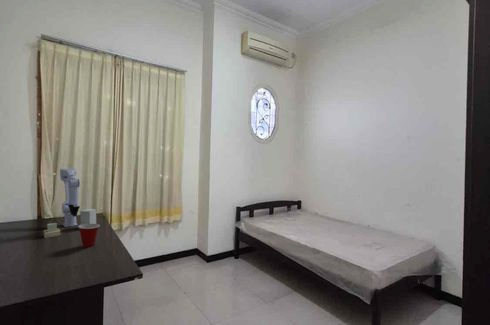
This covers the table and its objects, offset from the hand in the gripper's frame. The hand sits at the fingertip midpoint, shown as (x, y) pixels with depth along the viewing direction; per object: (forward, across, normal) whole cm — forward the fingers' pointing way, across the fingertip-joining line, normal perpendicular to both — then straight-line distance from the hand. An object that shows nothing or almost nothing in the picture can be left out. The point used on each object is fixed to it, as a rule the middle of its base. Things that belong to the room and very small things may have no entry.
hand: (73, 215), depth 179 cm
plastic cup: (+10, +44, +1) cm, 45 cm away
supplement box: (+10, 0, +9) cm, 14 cm away
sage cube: (+7, +7, -13) cm, 16 cm away
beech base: (+10, +7, -13) cm, 18 cm away
